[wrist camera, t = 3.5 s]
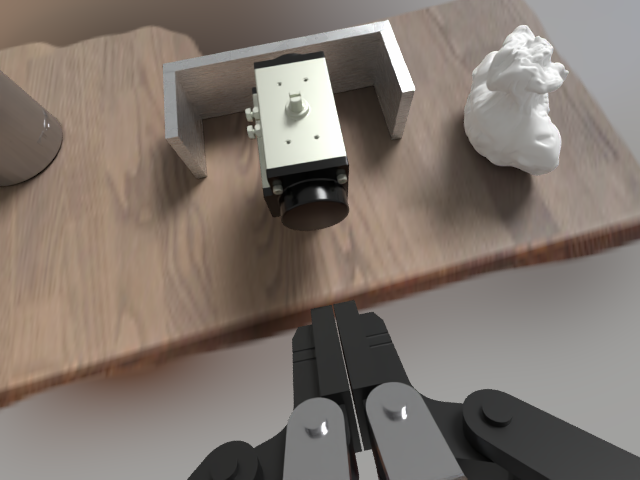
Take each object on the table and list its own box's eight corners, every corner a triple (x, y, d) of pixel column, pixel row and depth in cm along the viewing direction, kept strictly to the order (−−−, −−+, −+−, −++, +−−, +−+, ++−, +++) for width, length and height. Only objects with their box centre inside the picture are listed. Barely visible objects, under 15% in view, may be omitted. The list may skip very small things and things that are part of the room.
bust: (458, 107, 35) (413, 47, 27) (536, 57, 31) (512, -33, 23) (506, 205, 31) (470, 170, 23) (603, 163, 27) (604, 101, 19)
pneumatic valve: (326, 138, 32) (319, 18, 21) (349, 250, 28) (354, 175, 17) (270, 147, 32) (233, 33, 21) (285, 261, 28) (248, 193, 17)
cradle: (196, 178, 32) (165, 138, 26) (191, 112, 34) (162, 63, 29) (401, 137, 32) (415, 89, 26) (380, 75, 35) (388, 20, 29)
